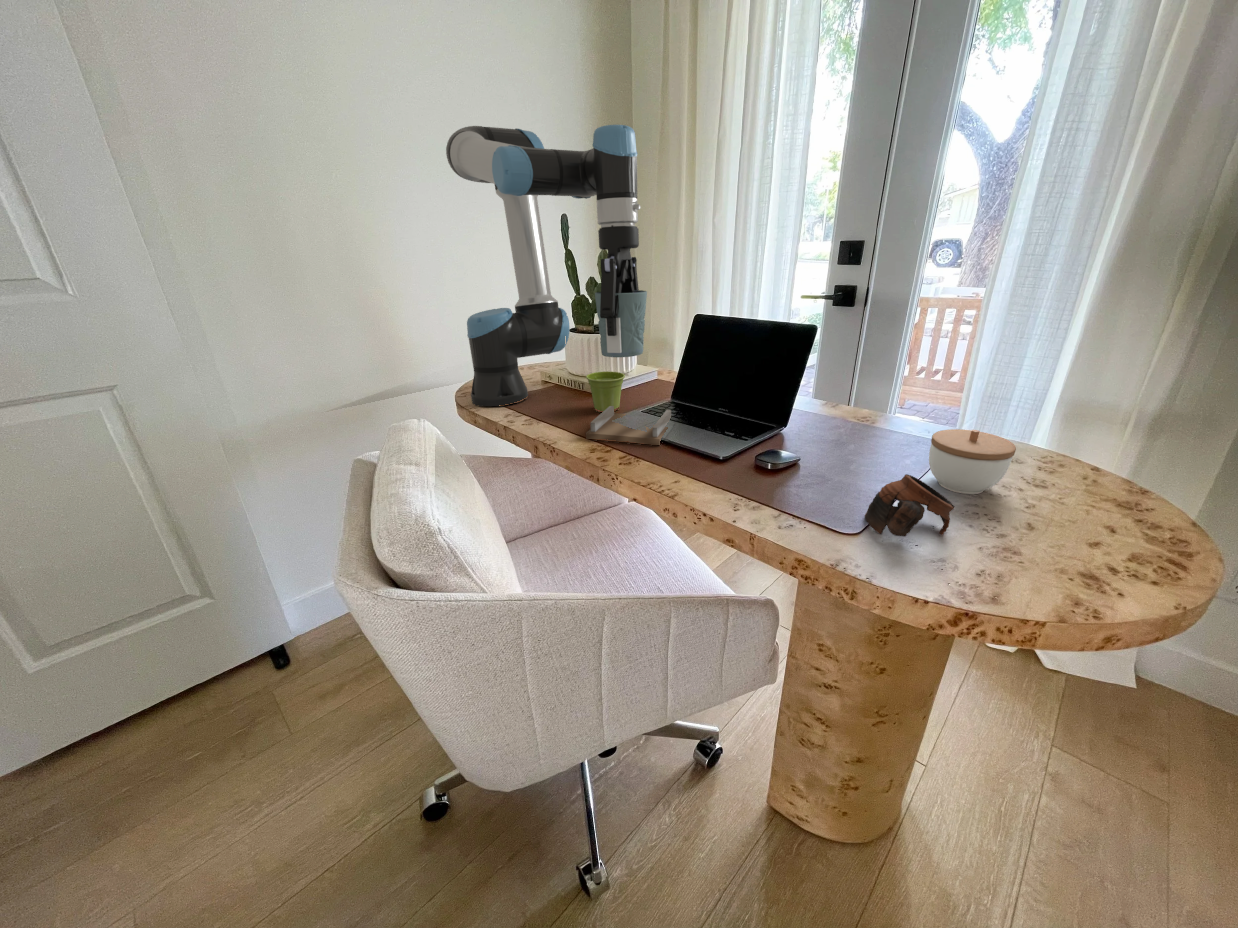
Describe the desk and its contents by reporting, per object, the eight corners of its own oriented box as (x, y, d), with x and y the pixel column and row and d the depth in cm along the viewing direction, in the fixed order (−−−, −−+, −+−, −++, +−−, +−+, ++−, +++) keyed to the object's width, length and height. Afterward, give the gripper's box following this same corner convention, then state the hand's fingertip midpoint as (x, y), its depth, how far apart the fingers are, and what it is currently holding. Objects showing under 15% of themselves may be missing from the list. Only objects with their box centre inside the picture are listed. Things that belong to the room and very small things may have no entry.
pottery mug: (860, 507, 74) (898, 464, 71) (918, 548, 71) (961, 505, 68) (854, 525, 64) (898, 476, 61) (922, 574, 61) (972, 525, 58)
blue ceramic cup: (588, 355, 99) (584, 293, 95) (618, 347, 107) (615, 289, 102) (629, 359, 94) (626, 293, 89) (657, 350, 101) (656, 289, 96)
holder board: (586, 439, 104) (585, 423, 102) (608, 418, 116) (608, 404, 114) (659, 446, 99) (659, 429, 97) (675, 423, 111) (675, 409, 109)
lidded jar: (1016, 503, 73) (1035, 445, 69) (936, 499, 75) (950, 442, 71) (982, 473, 82) (998, 420, 78) (912, 470, 84) (924, 418, 80)
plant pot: (610, 402, 128) (608, 369, 125) (633, 409, 122) (632, 375, 118) (580, 409, 123) (578, 375, 119) (604, 418, 116) (602, 382, 113)
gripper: (616, 222, 80) (622, 359, 89) (654, 226, 99) (655, 339, 108) (575, 225, 83) (584, 358, 92) (619, 229, 102) (623, 338, 111)
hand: (623, 347), depth 100 cm, fingers closed on blue ceramic cup, 9 cm apart
